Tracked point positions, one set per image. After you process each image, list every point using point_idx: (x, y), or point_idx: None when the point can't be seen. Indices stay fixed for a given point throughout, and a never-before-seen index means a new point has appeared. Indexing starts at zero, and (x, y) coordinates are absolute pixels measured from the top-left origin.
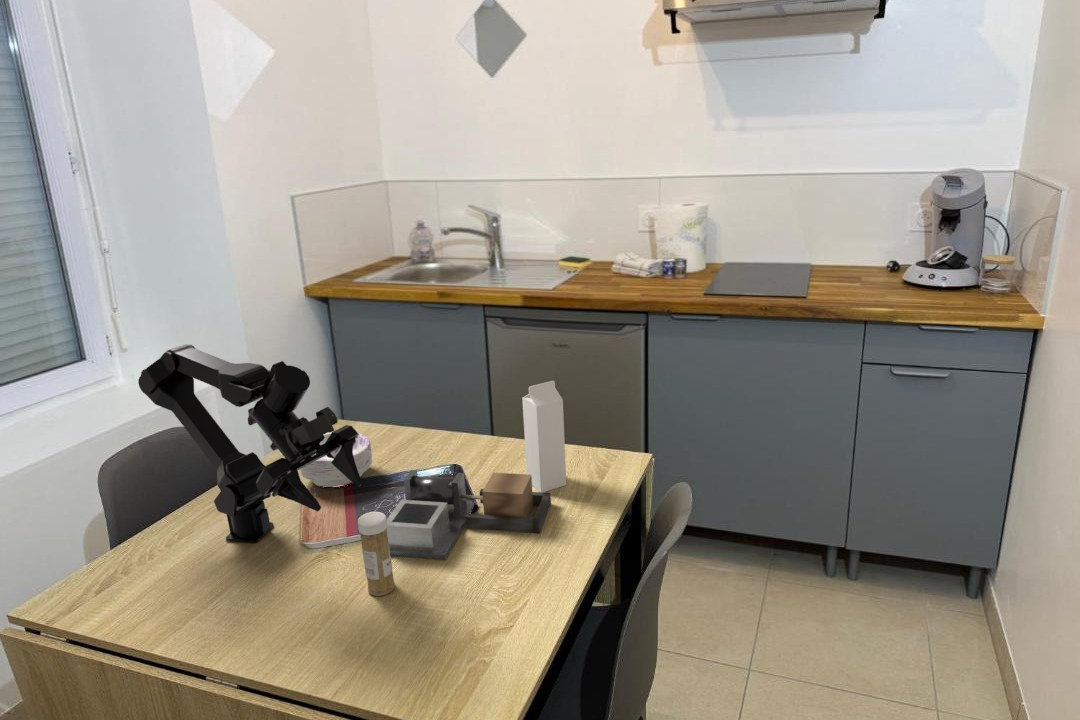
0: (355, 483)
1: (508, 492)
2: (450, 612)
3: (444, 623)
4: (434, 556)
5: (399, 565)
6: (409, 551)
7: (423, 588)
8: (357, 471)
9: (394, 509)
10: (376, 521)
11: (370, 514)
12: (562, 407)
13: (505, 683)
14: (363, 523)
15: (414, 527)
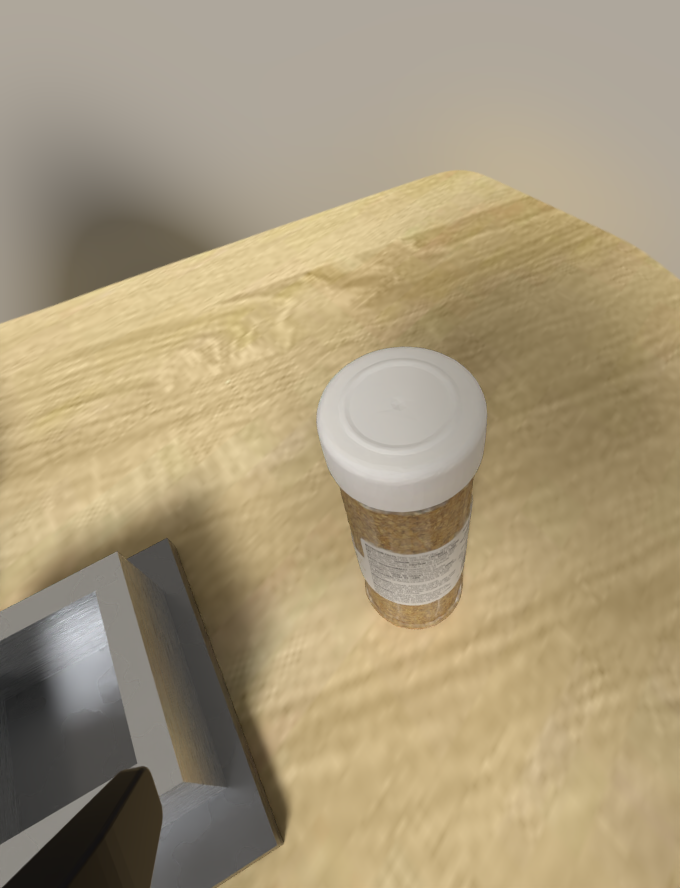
0: (146, 862)
1: None
2: None
3: None
4: (182, 573)
5: (277, 651)
6: (205, 660)
7: (325, 486)
8: (13, 883)
9: None
10: (406, 357)
11: (377, 439)
12: None
13: (430, 199)
14: (469, 389)
15: (136, 615)
